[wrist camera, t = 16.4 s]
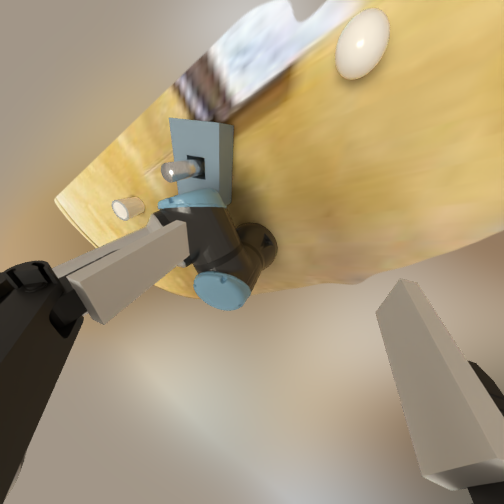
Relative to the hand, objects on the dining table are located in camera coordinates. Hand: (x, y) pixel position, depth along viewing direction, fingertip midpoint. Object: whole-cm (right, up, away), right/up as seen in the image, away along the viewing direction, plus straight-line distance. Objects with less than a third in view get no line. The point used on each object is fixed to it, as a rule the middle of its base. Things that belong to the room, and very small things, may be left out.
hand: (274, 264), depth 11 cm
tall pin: (-12, +24, +36) cm, 45 cm away
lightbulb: (+16, +32, +19) cm, 41 cm away
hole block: (-12, +24, +36) cm, 45 cm away
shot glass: (-42, +18, +53) cm, 69 cm away
